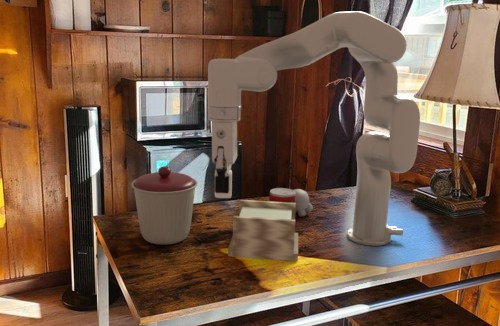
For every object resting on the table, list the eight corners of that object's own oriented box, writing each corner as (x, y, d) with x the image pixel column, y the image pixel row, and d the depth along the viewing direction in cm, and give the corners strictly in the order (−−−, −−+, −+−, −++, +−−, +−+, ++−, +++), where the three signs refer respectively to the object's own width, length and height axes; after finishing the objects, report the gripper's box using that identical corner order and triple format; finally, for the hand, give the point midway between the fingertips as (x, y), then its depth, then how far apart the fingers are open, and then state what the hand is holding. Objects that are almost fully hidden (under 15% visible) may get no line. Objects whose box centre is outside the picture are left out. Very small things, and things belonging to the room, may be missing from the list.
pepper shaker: (231, 193, 120) (232, 155, 118) (231, 198, 116) (232, 159, 114) (215, 193, 120) (215, 155, 118) (214, 198, 116) (214, 159, 114)
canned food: (292, 230, 149) (294, 196, 147) (266, 228, 151) (267, 193, 148) (295, 222, 157) (297, 189, 154) (270, 219, 158) (271, 186, 155)
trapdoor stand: (297, 239, 143) (299, 203, 140) (297, 261, 129) (299, 221, 126) (234, 235, 145) (235, 199, 142) (227, 256, 130) (228, 217, 128)
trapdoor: (291, 216, 140) (291, 209, 140) (290, 231, 128) (291, 224, 128) (242, 213, 141) (242, 206, 141) (237, 228, 130) (237, 221, 129)
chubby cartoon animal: (276, 221, 164) (268, 199, 161) (304, 204, 169) (297, 182, 165) (288, 228, 158) (280, 206, 155) (317, 210, 162) (310, 188, 159)
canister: (129, 229, 146) (127, 160, 141) (189, 224, 152) (189, 157, 147) (137, 254, 130) (135, 177, 125) (204, 246, 136) (204, 172, 131)
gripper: (236, 119, 105) (234, 201, 109) (244, 109, 121) (242, 180, 126) (201, 118, 106) (201, 199, 110) (214, 108, 122) (213, 179, 126)
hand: (223, 188), depth 118 cm, fingers closed on pepper shaker, 4 cm apart
